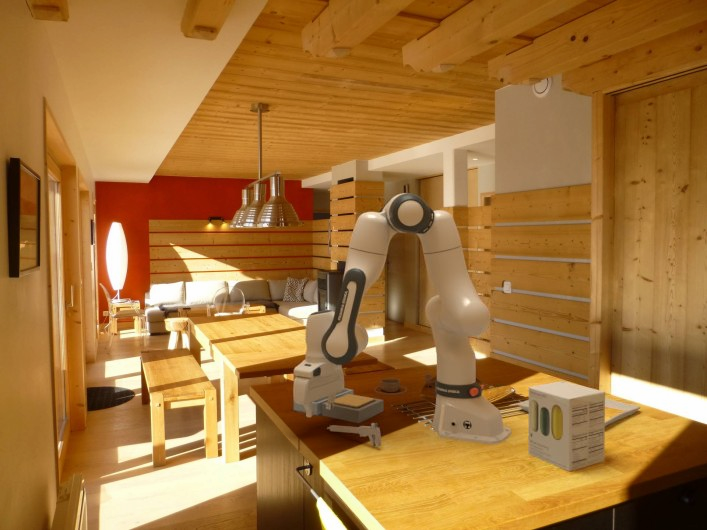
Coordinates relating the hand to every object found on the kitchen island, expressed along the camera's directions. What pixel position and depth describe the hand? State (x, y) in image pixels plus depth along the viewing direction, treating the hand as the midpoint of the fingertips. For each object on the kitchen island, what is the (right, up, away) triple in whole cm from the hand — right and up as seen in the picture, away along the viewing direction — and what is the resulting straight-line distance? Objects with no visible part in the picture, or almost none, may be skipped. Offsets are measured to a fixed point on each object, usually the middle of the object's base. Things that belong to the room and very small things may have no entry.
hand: (320, 412), depth 165 cm
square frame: (+10, -4, +14) cm, 17 cm away
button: (+10, -4, +14) cm, 17 cm away
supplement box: (+63, -6, -23) cm, 67 cm away
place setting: (+27, -4, +39) cm, 48 cm away
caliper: (+9, -6, -9) cm, 14 cm away
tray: (0, -4, +23) cm, 23 cm away
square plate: (+80, -4, +12) cm, 81 cm away
